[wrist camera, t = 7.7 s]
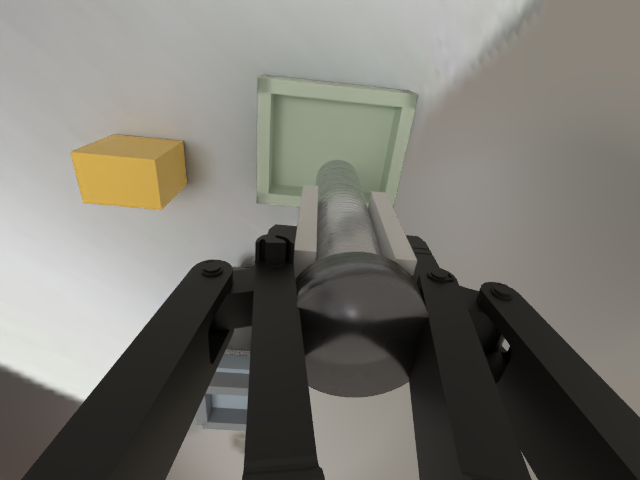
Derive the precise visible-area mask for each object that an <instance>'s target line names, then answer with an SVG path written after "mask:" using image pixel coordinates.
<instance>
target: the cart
mask: <svg viewBox="0 0 640 480" xmlns="http://www.w3.org/2000/svg"><path fill="white" fill-rule="evenodd" d="M232 268H233V271H235V270H243V269H247V268H242V267H232ZM251 333H252V326H249V327H243V328H237V329H234V333H233V335H232V337H231V340H230V342H229V344H228V346H227V348H226V349H234V350H249V351H251ZM249 368H250V356H247V355H233V354H224V355H223V357H222V359H221V361H220V363H219V365H218V368H217V370H216V372H215V374H214V376H213V378H212V380H211V383H210V385H209V387H208V389H207V391H206V393H205V395H204V398H203V400H202V402H201V404H200V406H199V408H198V411H197V413H196V415H195V416H196V423H197V425H202V427H203V429H220V430H238V431H246V422H247V404H248V386H249Z"/></svg>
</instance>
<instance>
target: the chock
mask: <svg viewBox="0 0 640 480" xmlns="http://www.w3.org/2000/svg"><path fill="white" fill-rule="evenodd" d="M70 153H71V157H72V161H73V165H74V168H75V172H76V176H77V180H78V184H79V188H80V192H81V196H82V200H83V203H90V204H101V205H113V206H124V207H136V208H147V209H159V210H162V209H163V208H164V207H165V206H166V205H167V204H168V203H169V202H170V201H171V200H172V199H173V198H174V197H175V196H176V195H177V194H178V193H179V192H180V191H181V190H182V189H183V188H184V187H185V186H186V185H187V176H186V166H185V155H184V144H183V141H177V140H167V139H157V138H147V137H136V136H126V135H116V134H113V135H111V136H108V137H106V138H104V139H101V140H99V141H96V142H94V143H91V144H89V145H86V146H84V147H81V148H79V149H76V150H74V151H71V152H70Z"/></svg>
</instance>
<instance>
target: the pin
mask: <svg viewBox="0 0 640 480" xmlns="http://www.w3.org/2000/svg"><path fill="white" fill-rule="evenodd" d="M316 186H318V209H317V246H316V260H315V263H313V264H311V265H310V266H308V267H307V268H306V269H305V270H303V271H302V272H301V273H300V274H299V275H298V276H297V278H296V279H295V280H296V288H297V296H298V301H297V308H299V313H300V321H301V330H302V338H303V346H304V354H305V363H306V371H307V379H308V386H310V387H311V388H313V389H315V390H318V391H320V392H323V393H327V394H330V395H335V396H341V397H368V396H374V395H379V394H383V393H386V392H389V391H392V390H394V389H396V388H398V387H401V386H402V385H404V384H406V383H408V382H409V377H410V374H411V370H412V367H413V364H414V361H415V358H416V355H417V352H418V349H419V346H420V343H421V340H422V336H423V333H424V330H425V327H426V324H427V321H428V318H430V316H429V313H428V311H427V308H426V306H425V303H424V300H423V298H422V295H421V293H420V291H419V288H418V286H417V284H416V282H415V280H414V279H413V277H412V276H411V274H410V273H409V272H408V271H407V270H406V269H405V268H403V267H402V266H401V265H399V264H398V263H396V262H395V261H393V260H391V259H389V258H386V257H384V256H382V254H381V251H380V247H379V244H378V241H377V237H376V234H375V231H374V227H373V224H372V221H371V217H370V214H369V211H368V207H367V204H366V201H365V197H364V194H363V191H362V187H361V184H360V181H359V177H358V174H357V171H356V169H355V168H354V167H353V166H352V165H351V164H350V163H348V162H346V161H343V160H332V161H329V162H327V163H325V164H324V165H323V166H322V167H321V168H320V169H319V171H318V173H317V176H316Z"/></svg>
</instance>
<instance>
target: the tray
mask: <svg viewBox="0 0 640 480" xmlns="http://www.w3.org/2000/svg"><path fill="white" fill-rule="evenodd" d="M417 99H418V94H416V93H414V92H411V91H408V90H399V89H390V88H380V87H371V86H362V85H353V84H343V83H334V82H325V81H315V80H306V79H297V78H287V77H278V76H269V75H262V76H260V77H258V98H257V203H258V204H269V205H280V206H292V207H300V204H301V197H302V190H303V185H311V186H316V176H317V173H318V171H319V169H320V168H321V167H322V166H323V165H324V164H325V163H327V162H329V161H332V160H343V161H346V162H348V163H350V164H351V165H352V166H353V167H354V168H355V169H356V171H357V174H358V177H359V181H360V184H361V187H362V191H363V194H364V197H365V201H366V204H367V207H368V206H369V200H370V195H371V191H374V192H385V193H386V194H387V196H388V198H389V201H390V203H391V205H392V207H393V208H394V204H395V199H396V194H397V190H398V185H399V181H400V176H401V172H402V167H403V163H404V158H405V153H406V149H407V144H408V140H409V135H410V131H411V126H412V121H413V117H414V112H415V108H416V103H417Z"/></svg>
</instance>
